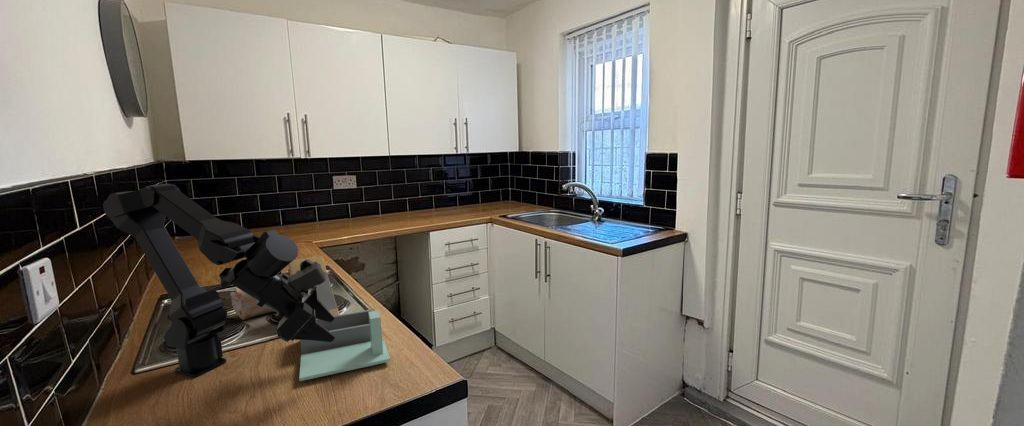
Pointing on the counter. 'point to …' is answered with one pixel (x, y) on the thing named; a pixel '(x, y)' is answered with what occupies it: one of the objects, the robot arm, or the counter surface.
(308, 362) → the lid
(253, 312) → the food item
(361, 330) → the box
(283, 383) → the counter surface
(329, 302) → the sandwich container
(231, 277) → the robot arm
